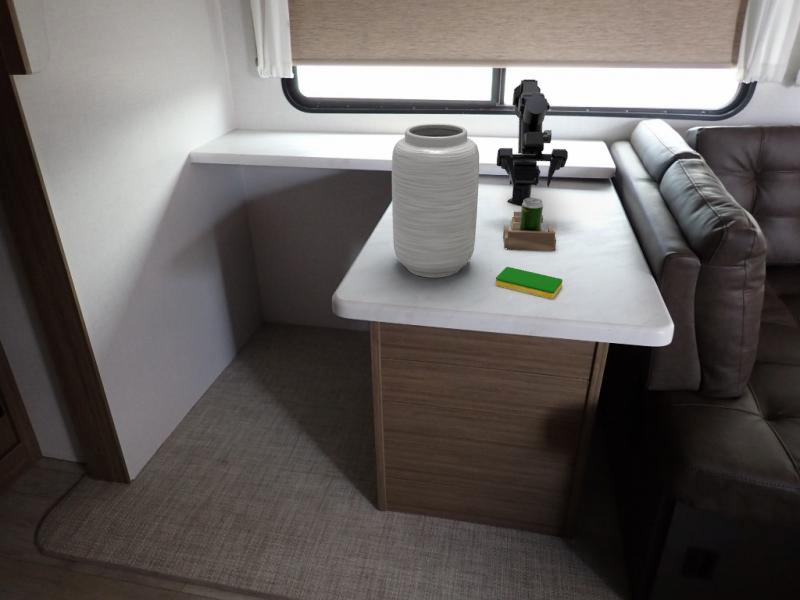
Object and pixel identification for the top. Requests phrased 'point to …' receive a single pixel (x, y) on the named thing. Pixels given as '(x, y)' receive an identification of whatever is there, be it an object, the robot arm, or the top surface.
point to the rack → (529, 239)
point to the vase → (434, 199)
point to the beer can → (531, 214)
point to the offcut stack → (518, 221)
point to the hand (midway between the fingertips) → (531, 185)
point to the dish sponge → (529, 282)
